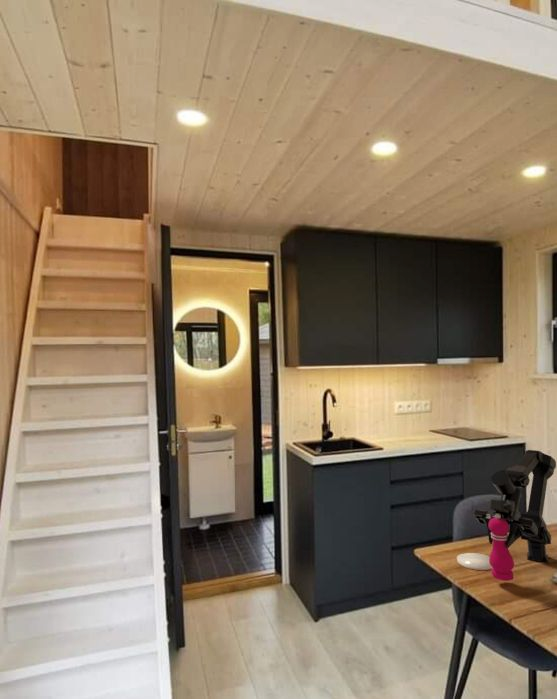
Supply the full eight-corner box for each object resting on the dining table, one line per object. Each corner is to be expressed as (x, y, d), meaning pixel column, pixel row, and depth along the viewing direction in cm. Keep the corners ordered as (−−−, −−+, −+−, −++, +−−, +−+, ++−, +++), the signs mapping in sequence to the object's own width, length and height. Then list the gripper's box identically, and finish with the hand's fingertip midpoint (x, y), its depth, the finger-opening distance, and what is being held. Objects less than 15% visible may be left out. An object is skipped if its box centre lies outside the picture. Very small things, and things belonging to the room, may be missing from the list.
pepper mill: (508, 583, 134) (503, 518, 135) (485, 576, 139) (481, 513, 141) (519, 576, 138) (514, 513, 139) (496, 569, 144) (492, 508, 145)
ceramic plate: (460, 552, 164) (460, 550, 164) (497, 558, 158) (497, 556, 158) (454, 566, 153) (453, 563, 153) (494, 572, 147) (494, 570, 147)
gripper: (473, 485, 150) (460, 525, 142) (530, 493, 136) (520, 539, 128) (485, 503, 155) (473, 543, 147) (542, 513, 141) (533, 558, 133)
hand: (498, 545), depth 138 cm, fingers closed on pepper mill, 5 cm apart
